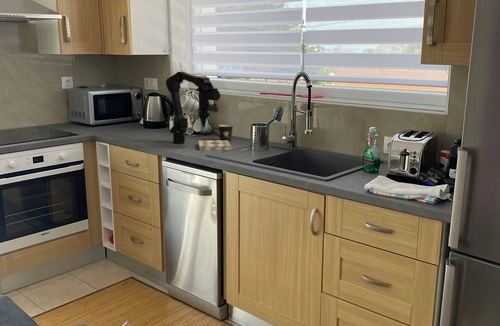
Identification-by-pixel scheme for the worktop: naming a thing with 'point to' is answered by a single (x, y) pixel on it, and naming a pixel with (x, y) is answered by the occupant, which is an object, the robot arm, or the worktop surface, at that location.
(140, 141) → the worktop surface
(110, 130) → the worktop surface
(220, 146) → the keyhole board
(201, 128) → the peg
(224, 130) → the coffee mug
